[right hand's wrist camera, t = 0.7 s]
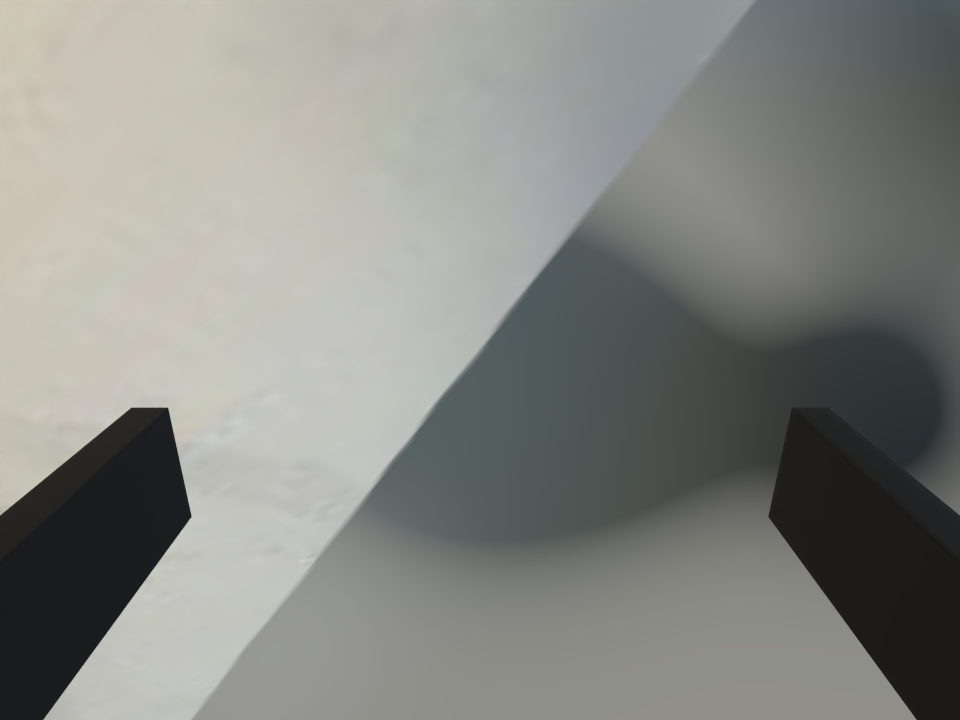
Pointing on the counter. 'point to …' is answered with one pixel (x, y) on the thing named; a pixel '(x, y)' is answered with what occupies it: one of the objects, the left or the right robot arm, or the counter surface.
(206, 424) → the counter surface
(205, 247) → the counter surface
